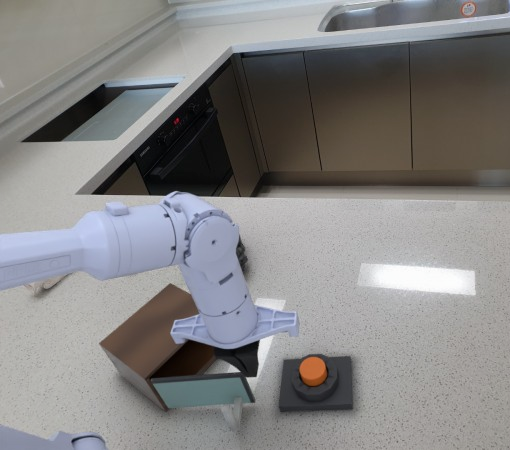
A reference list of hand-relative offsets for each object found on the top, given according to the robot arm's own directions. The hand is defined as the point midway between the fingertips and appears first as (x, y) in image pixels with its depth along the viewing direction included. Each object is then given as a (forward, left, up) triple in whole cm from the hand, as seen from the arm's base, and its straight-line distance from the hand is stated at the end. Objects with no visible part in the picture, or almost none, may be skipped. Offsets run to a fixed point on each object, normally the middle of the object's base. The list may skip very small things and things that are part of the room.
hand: (252, 370), depth 57 cm
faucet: (+5, +52, -11) cm, 53 cm away
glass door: (-6, +6, -9) cm, 12 cm away
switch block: (+7, -3, -10) cm, 13 cm away
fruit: (+20, +27, -11) cm, 35 cm away
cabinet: (-1, +19, -10) cm, 22 cm away
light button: (+7, -3, -8) cm, 11 cm away
